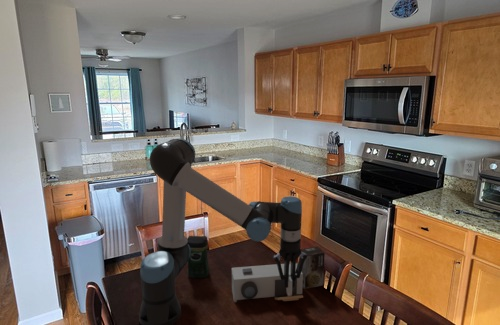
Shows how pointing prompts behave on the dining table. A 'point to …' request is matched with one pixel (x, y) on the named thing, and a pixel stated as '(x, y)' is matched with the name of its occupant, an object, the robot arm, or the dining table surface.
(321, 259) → the coffee box
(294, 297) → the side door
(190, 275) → the coffee jar
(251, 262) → the dining table surface
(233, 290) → the box
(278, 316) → the dining table surface
